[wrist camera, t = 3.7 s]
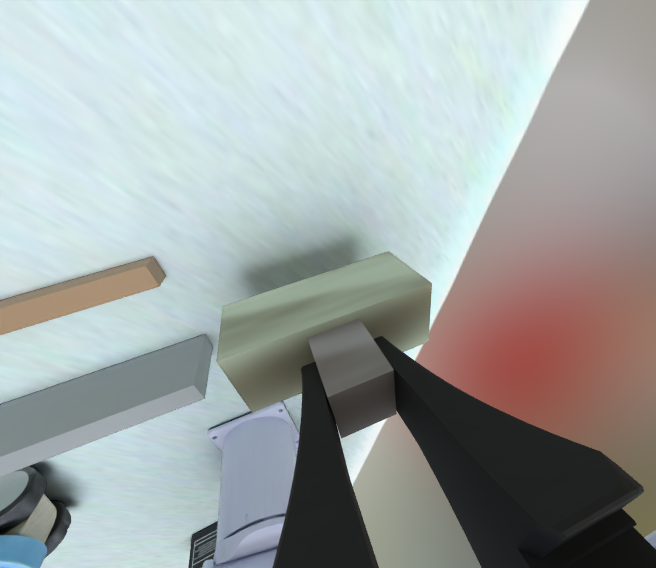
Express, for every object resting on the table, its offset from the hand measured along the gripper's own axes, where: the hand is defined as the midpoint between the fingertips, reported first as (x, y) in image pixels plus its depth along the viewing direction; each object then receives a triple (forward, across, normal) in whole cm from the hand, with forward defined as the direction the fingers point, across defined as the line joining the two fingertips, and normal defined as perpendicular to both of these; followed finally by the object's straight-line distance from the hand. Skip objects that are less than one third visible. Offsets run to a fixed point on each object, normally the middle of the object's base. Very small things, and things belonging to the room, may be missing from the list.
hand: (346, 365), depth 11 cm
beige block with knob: (+5, 0, 0) cm, 5 cm away
